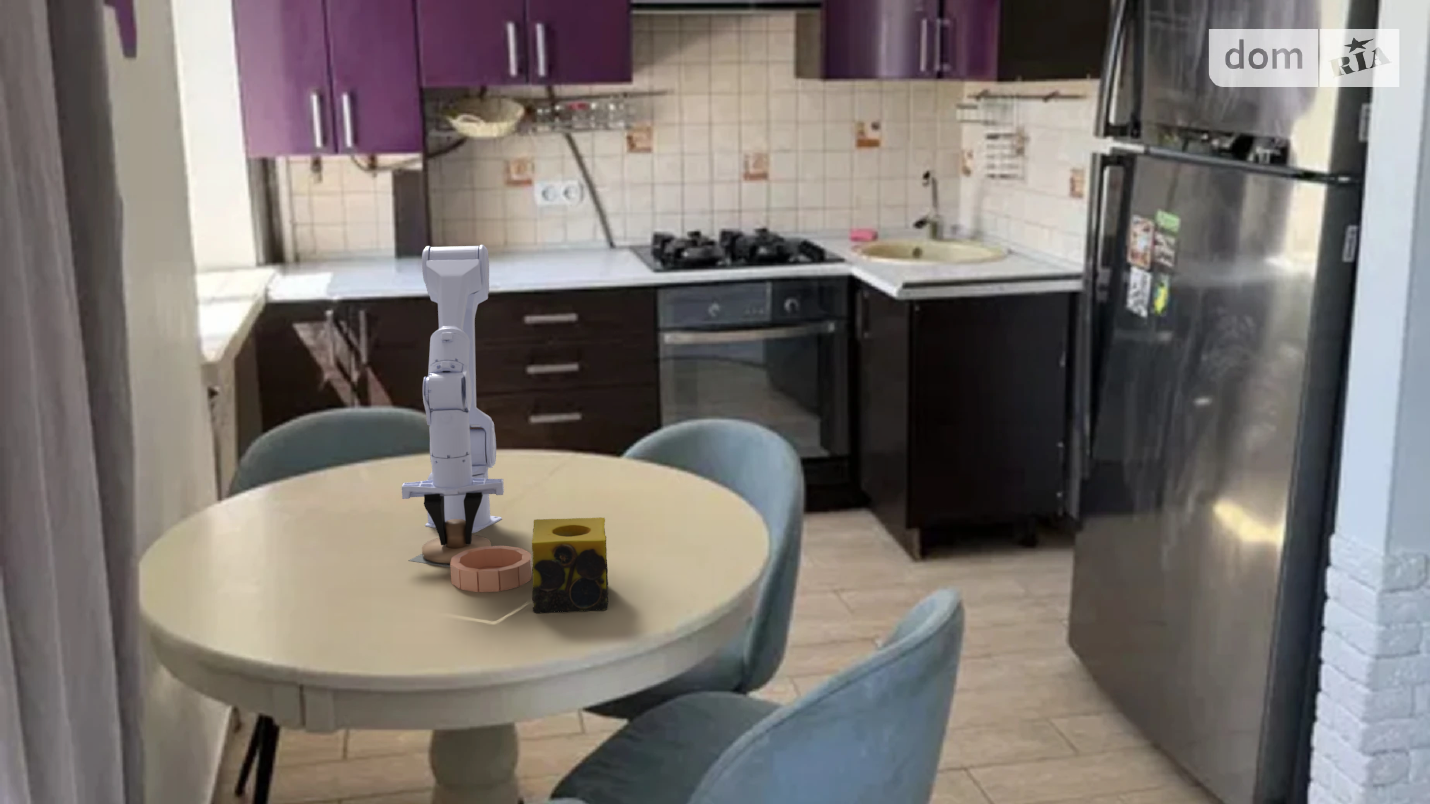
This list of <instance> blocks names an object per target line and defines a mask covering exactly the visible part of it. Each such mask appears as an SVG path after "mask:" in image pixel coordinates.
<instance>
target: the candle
mask: <svg viewBox="0 0 1430 804" xmlns="http://www.w3.org/2000/svg"><path fill="white" fill-rule="evenodd" d="M605 523H606V518H605V517H599V516H598V517H581V518H580V517H578V518H577V517H575V518H572V517H571V518H546V519H544V518H543V519H540V518H539V519H538V518H537V519H533V529H532V533H533V534H532V540H531V550H532V551H531V552H532V595H531V598H532V603H533V607H532V612H533V613H536V614H544V613H546V614H549V613H550V614H551V613H576V612H587V611H589V612H590V611H606V610H607V609H608V606H609V590H608V589H609V587H608V586H609V578H608V574H609V573H608V569H609V568H608V560H607V558H608V556H607V554H608V553H607V551H608V549H607V535H606V528H605Z"/></svg>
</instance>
